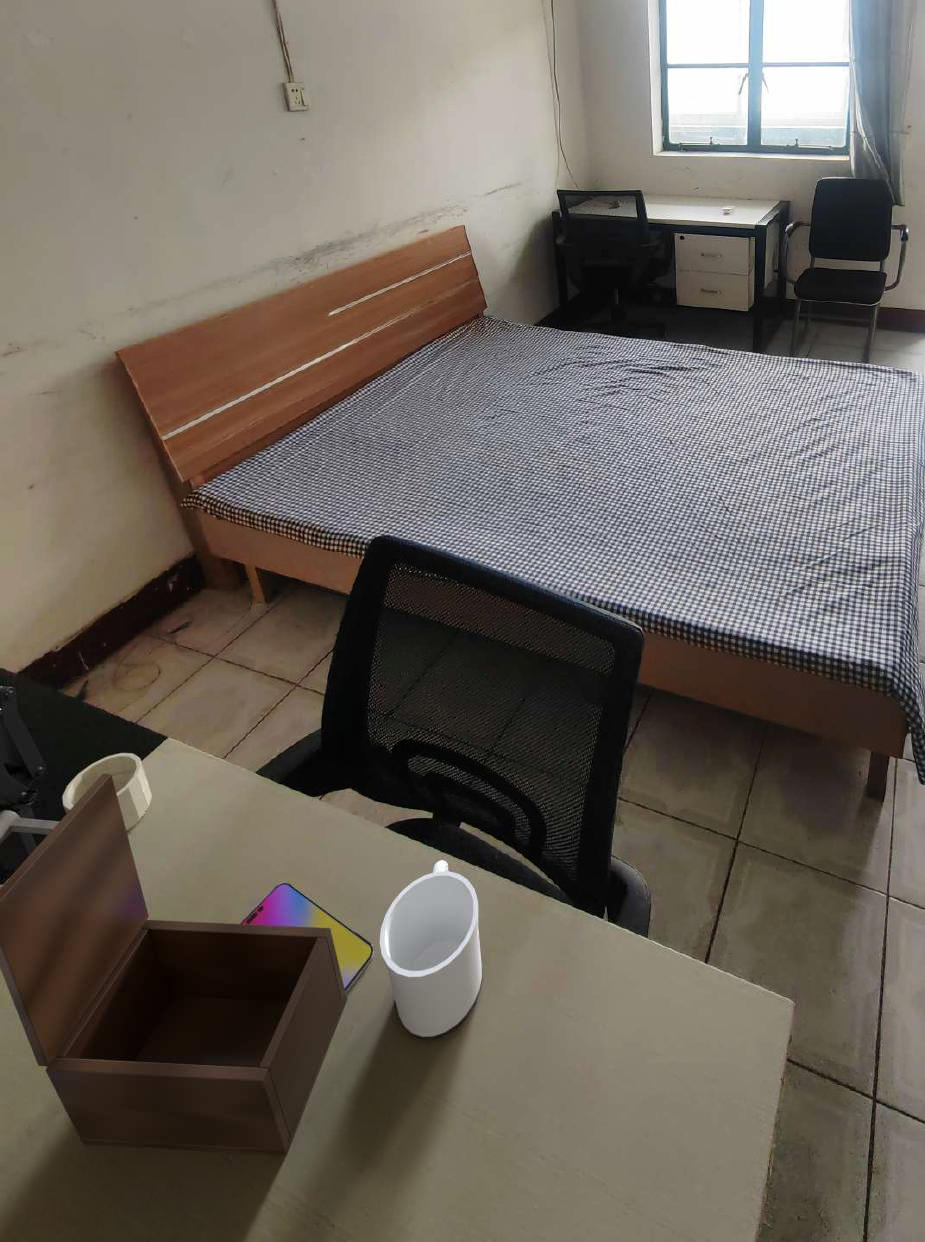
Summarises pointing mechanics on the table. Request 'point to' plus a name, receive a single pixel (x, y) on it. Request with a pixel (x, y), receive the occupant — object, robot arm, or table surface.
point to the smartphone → (301, 911)
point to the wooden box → (203, 1038)
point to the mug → (433, 952)
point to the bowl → (126, 781)
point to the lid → (68, 915)
